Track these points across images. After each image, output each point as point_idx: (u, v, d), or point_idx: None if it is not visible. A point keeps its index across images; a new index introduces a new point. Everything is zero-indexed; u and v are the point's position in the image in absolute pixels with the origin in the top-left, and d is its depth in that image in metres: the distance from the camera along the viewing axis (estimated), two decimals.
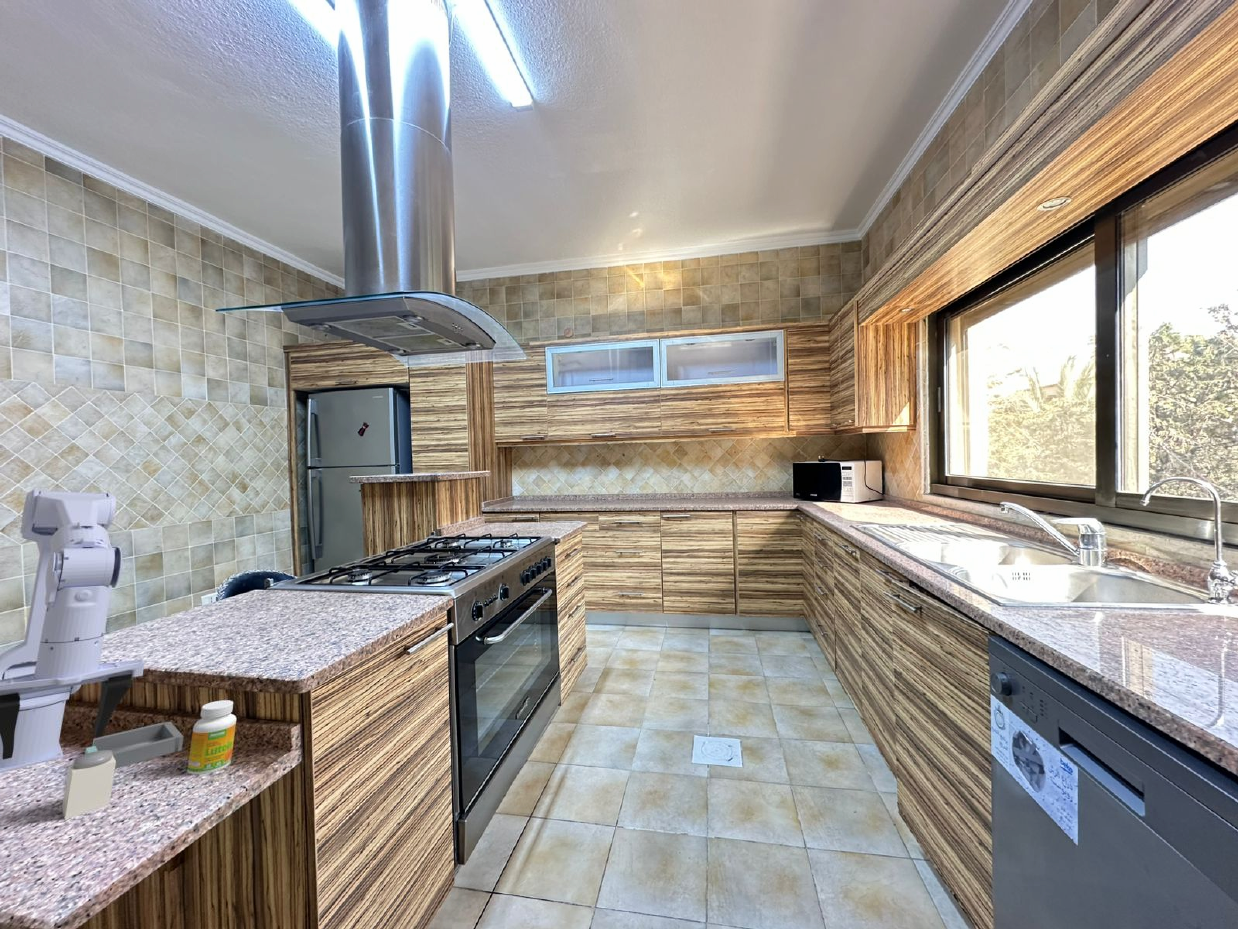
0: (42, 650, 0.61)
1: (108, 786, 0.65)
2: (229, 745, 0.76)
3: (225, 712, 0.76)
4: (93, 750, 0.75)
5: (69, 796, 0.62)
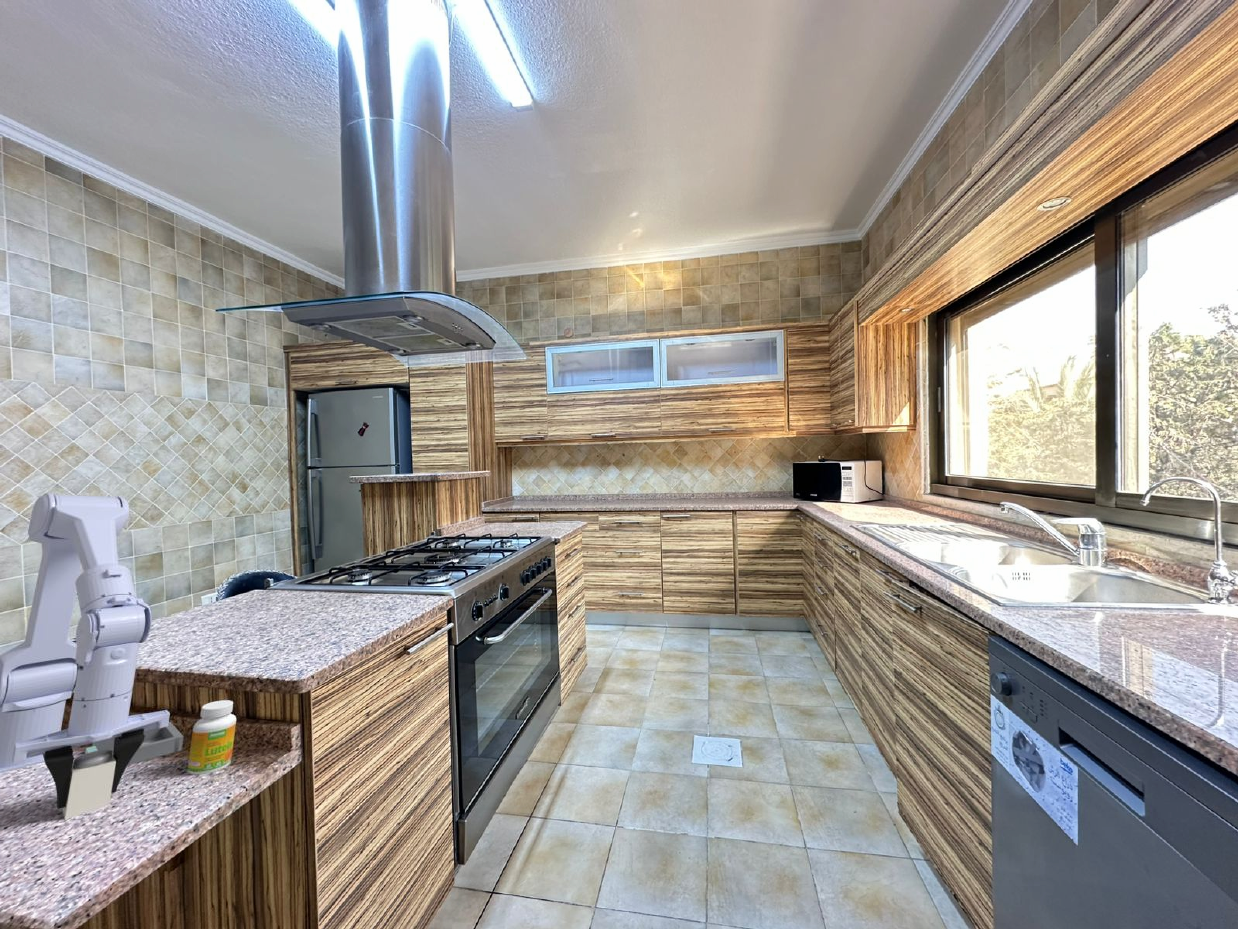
0: (75, 708, 0.64)
1: (108, 785, 0.65)
2: (229, 745, 0.76)
3: (225, 712, 0.76)
4: (93, 750, 0.75)
5: (69, 796, 0.62)
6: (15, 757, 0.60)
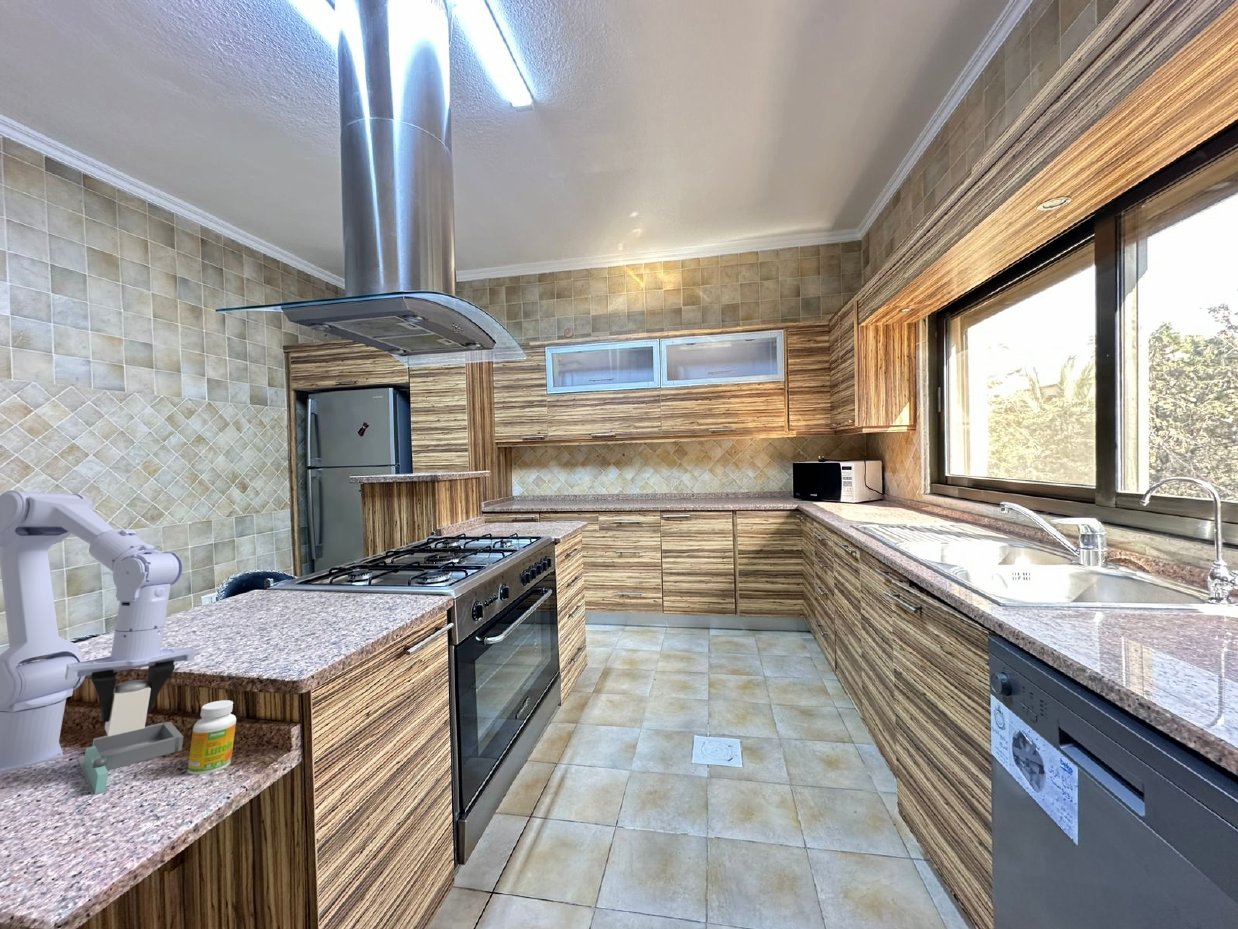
0: (117, 637, 0.74)
1: (144, 709, 0.75)
2: (229, 745, 0.76)
3: (225, 712, 0.76)
4: (93, 750, 0.75)
5: (112, 715, 0.72)
6: (68, 675, 0.70)
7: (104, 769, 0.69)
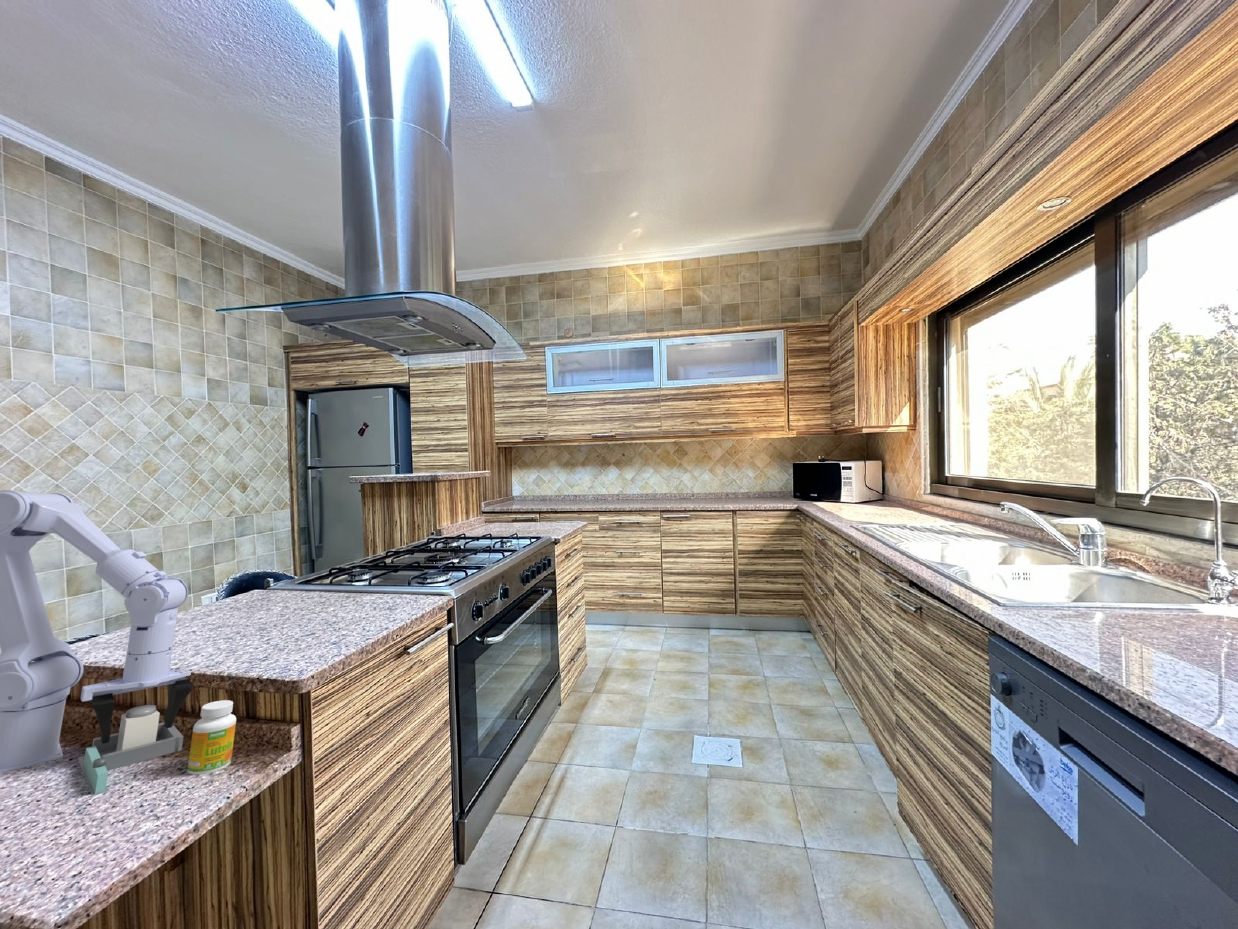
0: (129, 660, 0.79)
1: (153, 732, 0.80)
2: (229, 745, 0.76)
3: (225, 712, 0.76)
4: (93, 750, 0.75)
5: (124, 739, 0.77)
6: (84, 697, 0.75)
7: (104, 769, 0.69)
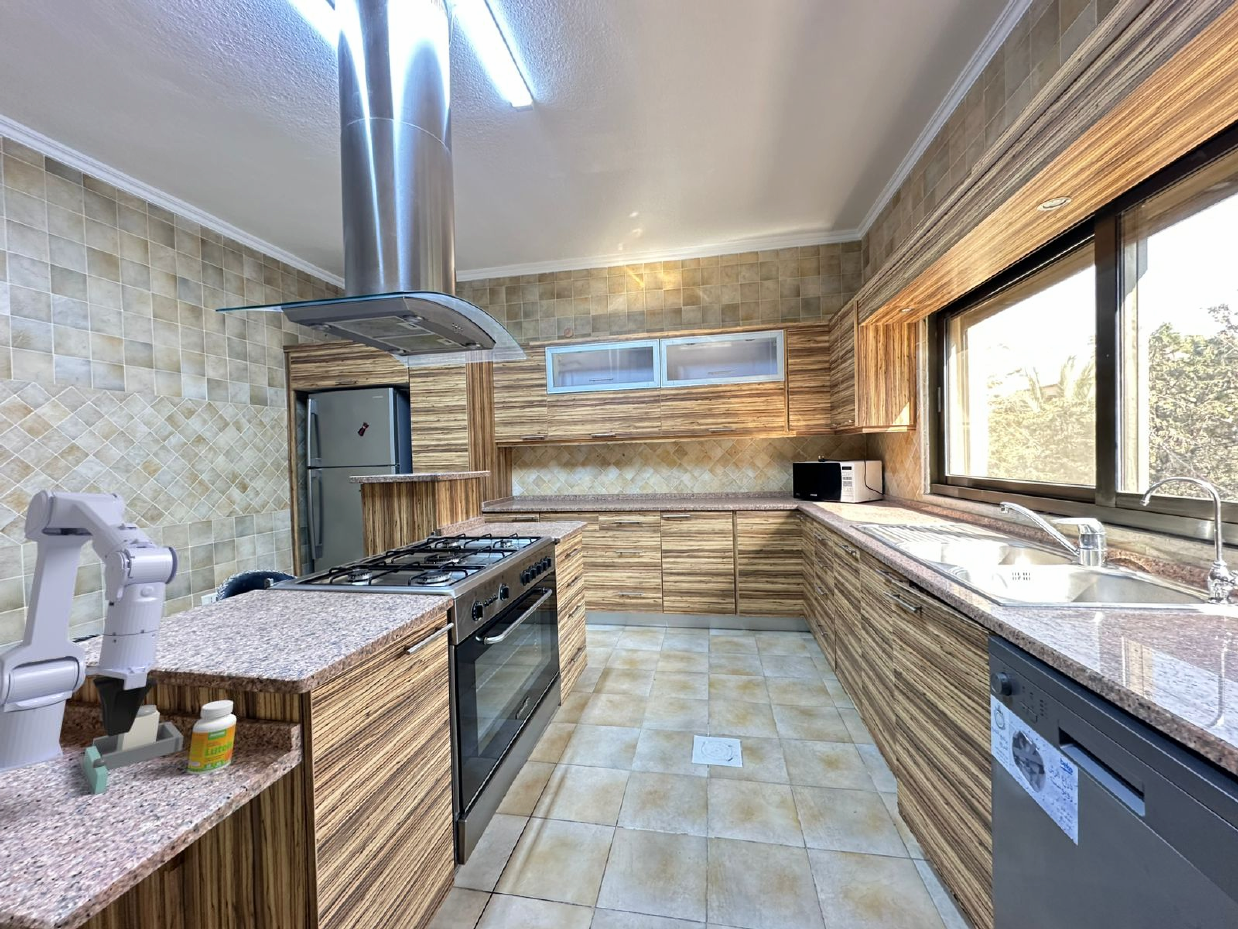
0: None
1: (153, 732, 0.80)
2: (229, 745, 0.76)
3: (225, 712, 0.76)
4: (93, 750, 0.75)
5: (124, 739, 0.77)
6: None
7: (104, 769, 0.69)
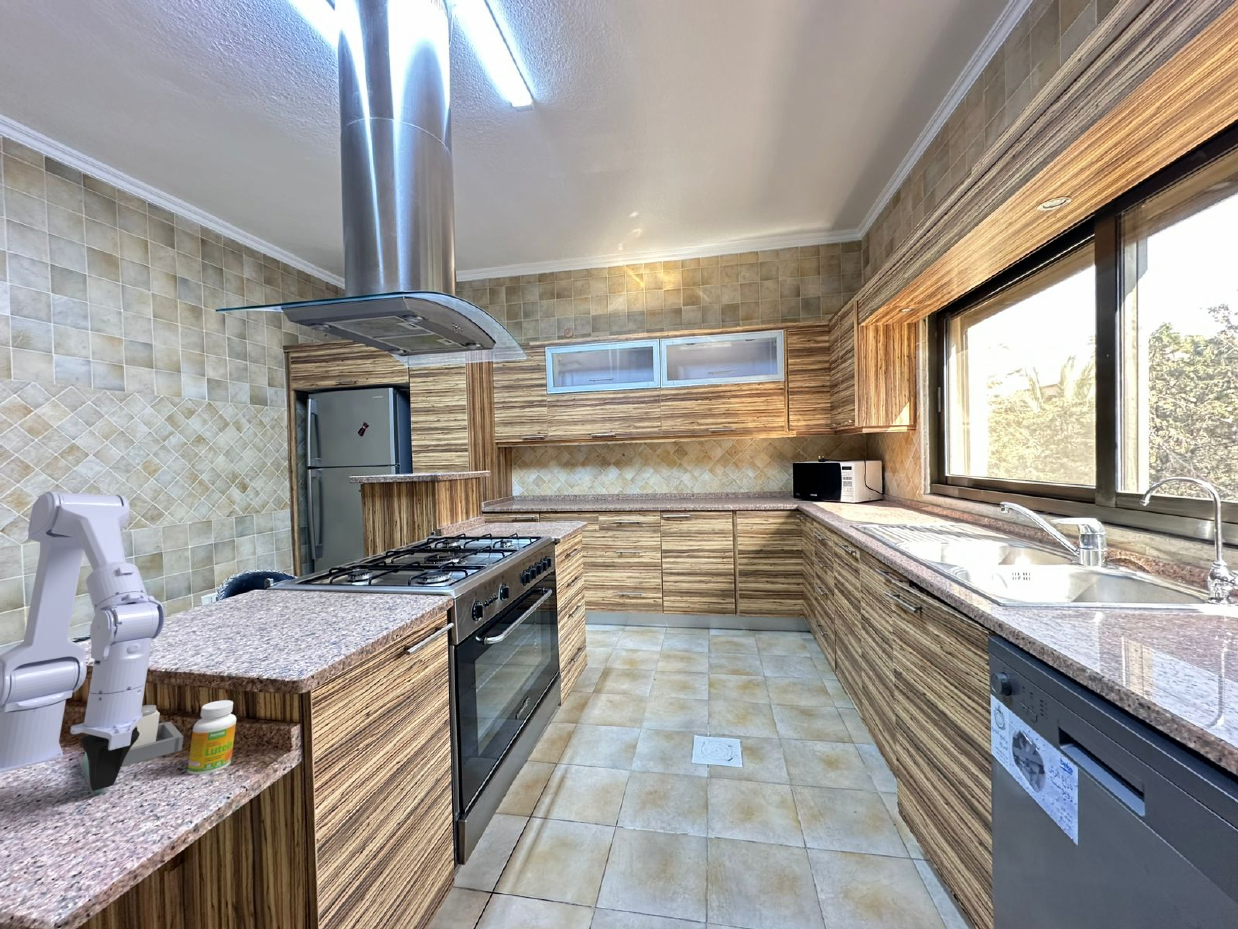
0: None
1: (153, 732, 0.80)
2: (229, 745, 0.76)
3: (225, 712, 0.76)
4: None
5: None
6: None
7: None
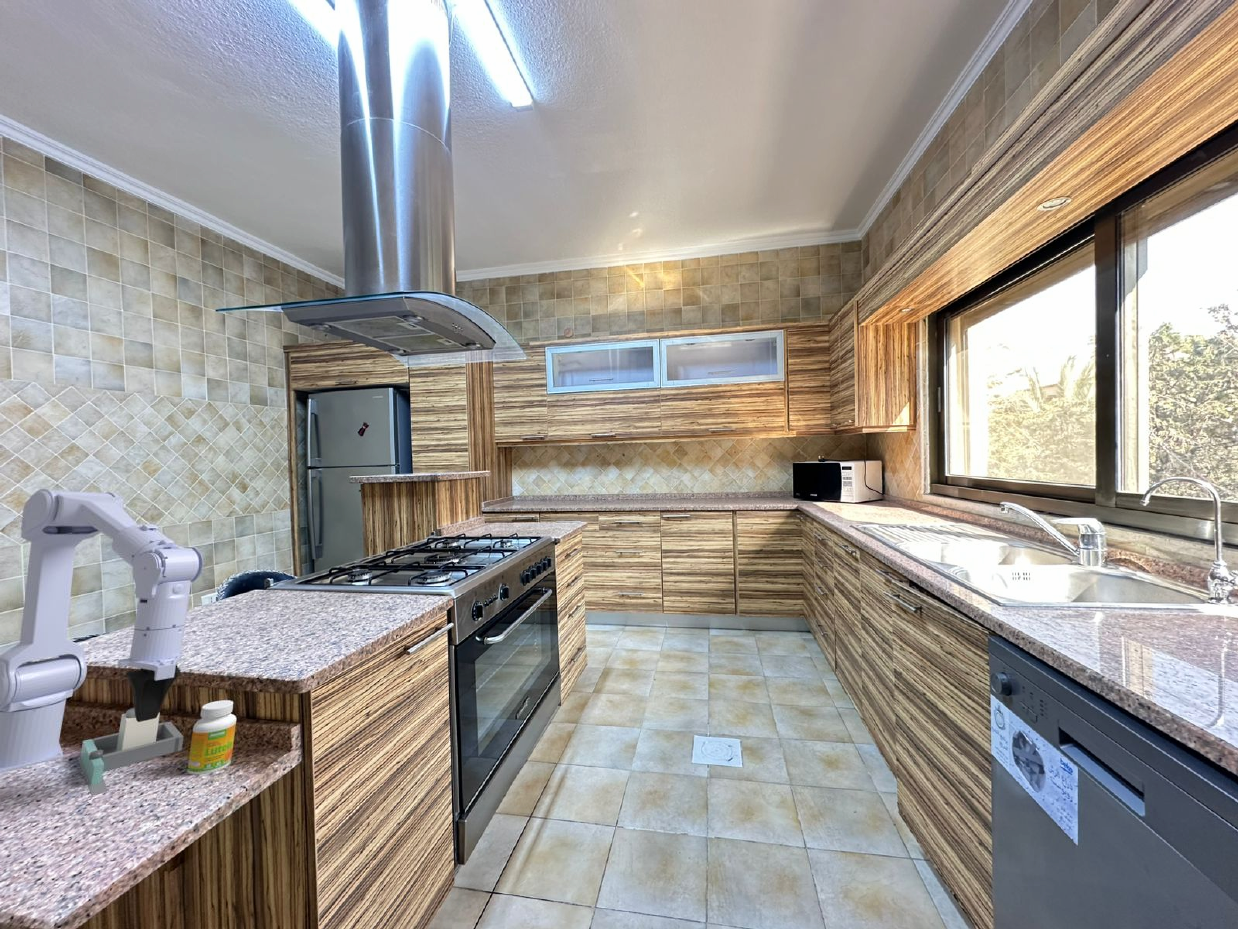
0: None
1: (153, 732, 0.80)
2: (229, 745, 0.76)
3: (225, 712, 0.76)
4: (90, 743, 0.77)
5: (124, 739, 0.77)
6: None
7: (100, 761, 0.72)
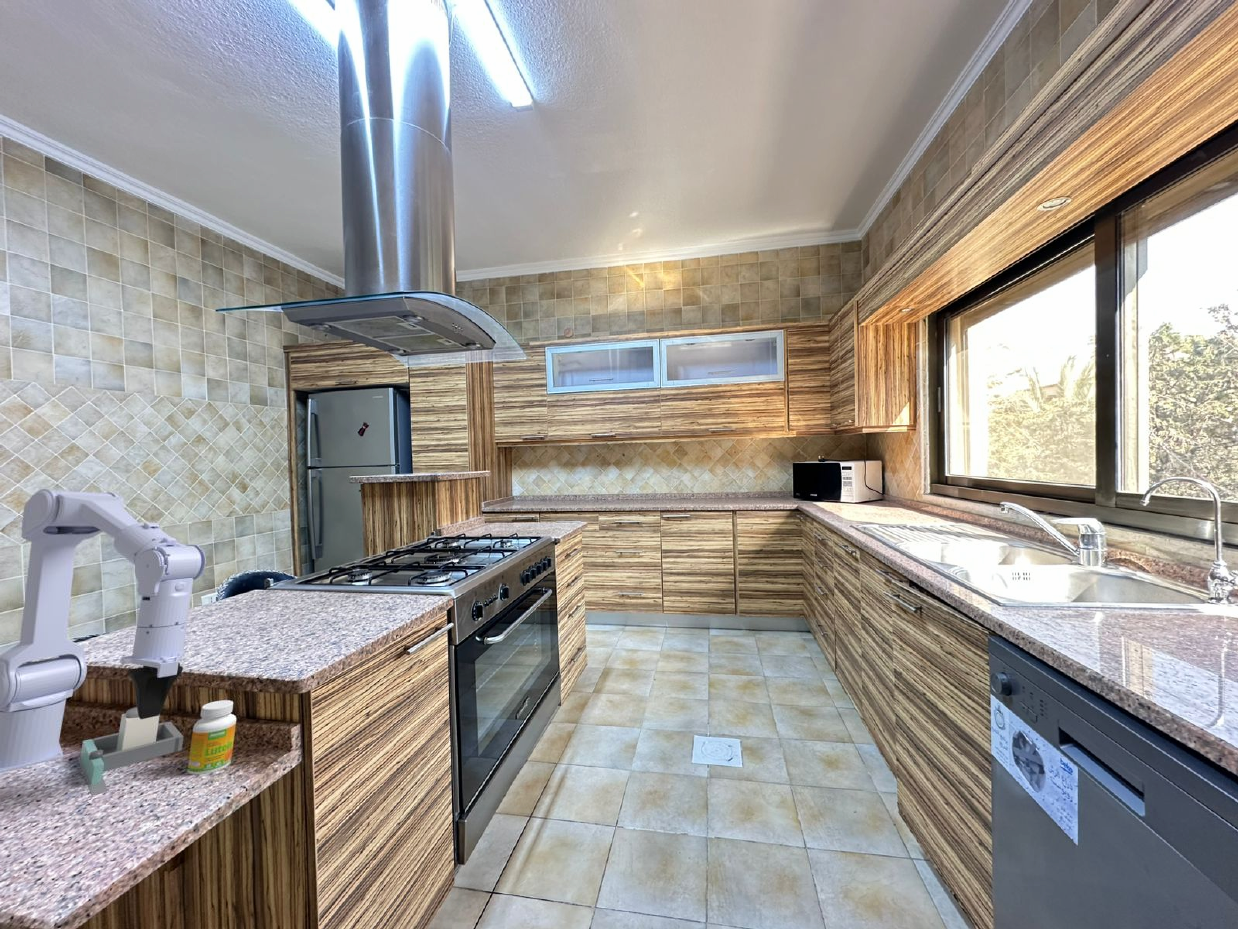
0: None
1: (153, 732, 0.80)
2: (229, 745, 0.76)
3: (225, 712, 0.76)
4: (90, 743, 0.77)
5: (124, 739, 0.77)
6: None
7: (100, 761, 0.72)
